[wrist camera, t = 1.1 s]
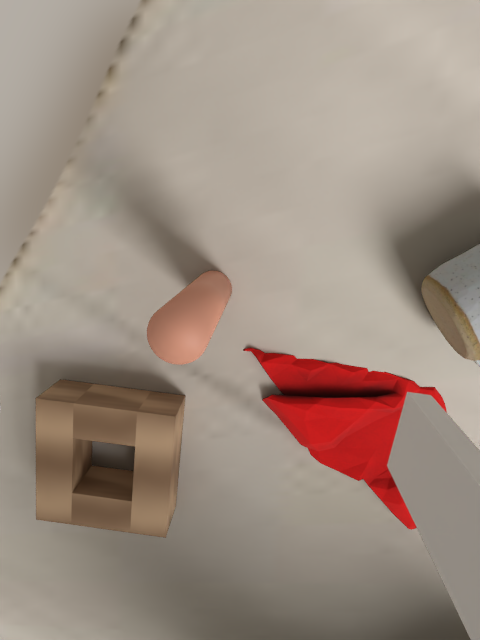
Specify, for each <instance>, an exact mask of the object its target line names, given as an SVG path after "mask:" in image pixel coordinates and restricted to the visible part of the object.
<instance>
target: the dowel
mask: <svg viewBox="0 0 480 640" xmlns="http://www.w3.org/2000/svg"><path fill="white" fill-rule="evenodd" d="M231 292H232V286H231V283H230V281H229V279H228V278H227V276H226V275H224V274H223V273H221V272H219V271H207V272H205V273H203V274H201V275H200V276H199V277H198V278H197V279H195V280H194V281H193V282H192V283H191V284H189V285H188V286H187V287H186V288H184V289H183V290H182V291H181V292H180V293H178V294H177V295H176V296H175V297H174V298H172V299H171V300H170V301H169V302H167V303H166V304H165V305H164V306H163V307H161V308H160V309H159V310H158V311H157V312H156V313H154V315H153V316H152V317H151V319H150V321H149V324H148V327H147V338H148V342H149V345H150V347H151V349H152V350H153V352H154V353H155V354H156V355H157V356H158V357H159V358H161V359H162V360H164V361H166V362H168V363H172V364H187V363H190V362H193V361H195V360H196V359H198V358H199V357H200V356H201V355H202V354H203V352H204V351H205V349H206V347H207V345H208V343H209V341H210V339H211V336H212V334H213V332H214V330H215V328H216V326H217V324H218V322H219V319H220V317H221V315H222V313H223V311H224V309H225V307H226V305H227V302H228V300H229V298H230V296H231Z"/></svg>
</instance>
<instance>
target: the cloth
mask: <svg viewBox="0 0 480 640" xmlns="http://www.w3.org/2000/svg"><path fill="white" fill-rule="evenodd" d="M243 351H252V353H253V354H254V355H255V356H256V358H257V359H258V361H259V362H260V364H261V365H262V367H263V368H264V370H265V371H266V372H267V374H268V375H269V377H270V378H271V380H272V381H273V382H274V383H275V385H276V386H277V387H278V389H279V390H280V391H281V392H282V394H283V395H271V396H269V397H267V398H264V399H263V401H264V402H265V403H266V405H267V406H268V407H269V408H270V409H271V410H272V411H273V412H274V413H275V414H276V415H277V416H278V417H279V419H280V420H281V421H282V422H283V423H284V425H285V426H286V427H287V428H288V429H289V431H290V432H291V433H292V434H293V436H294V437H295V438H296V439H297V440H298V442H299V443H300V444H301V445H303V446H305V447H307V448H308V449H309V452H310V454H311V455H312V456H313V457H314V458H315V459H316V460H318V461H319V462H320V463H321V464H324V465H326V466H328V467H330V468H333V469H335V470H337V471H339V472H341V473H343V474H345V475H347V476H350V477H352V478H354V479H356V480H358V481H359V480H362V479H364V480H365V482H366V483H367V484H368V486H369V487H370V488H371V489H372V490H373V491H374V492H375V494H376V495H377V496H378V497H379V498H380V499H381V500H382V502H383V503H384V504H385V505H386V506H387V507H388V508H389V510H390V511H391V512H392V513H393V514H394V515H395V516H396V517H397V518H398V519H399V520H400V521H401V522H402V523H403V524H404V525H405V526H406V527H407V528H408V529H415V528H417V527H416V525H415V523H414V521H413V519H412V517H411V515H410V513H409V510H408V508H407V506H406V504H405V502H404V500H403V498H402V496H401V494H400V492H399V490H398V488H397V486H396V483H395V481H394V479H393V477H392V475H391V473H390V471H389V469H388V467H387V464H388V460H389V456H390V453H391V449H392V445H393V442H394V438H395V434H396V431H397V427H398V423H399V420H400V416H401V412H402V409H403V405H404V401H405V398H406V394H407V392H412V393H419V394H427V395H431V396H432V397H433V398H434V399H435V400H436V401H437V402H438V404H439V405H440V406H441V407H442V408H443V409H444V410H445V412H446V407H445V403H444V401H443V398H442V397H441V395H440V394H439V393H438V391H437V390H436V389H435V387H419V386H418V385H417V384H416V383H415V382H414V381H411V380H408V379H405V378H402V377H399V376H396V375H393V374H390V373H387V372H384V373H383V372H378V371H371V372H368V369H367V368H362V367H355V366H349V365H343V364H339V363H325V362H322V361H318V360H314V359H297V358H296V357H295V356H293V355H285V354H276V353H264V352H262V351H261V350H257V349H253V348H247V349H244V350H243ZM446 413H447V412H446Z"/></svg>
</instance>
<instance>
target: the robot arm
mask: <svg viewBox="0 0 480 640" xmlns="http://www.w3.org/2000/svg"><path fill="white" fill-rule="evenodd" d="M0 411H1V408H0ZM387 467H388V469H389V471H390V473H391V475H392V477H393V479H394V481H395V483H396V486H397V488H398V490H399V492H400V494H401V496H402V498H403V500H404V502H405V504H406V506H407V508H408V510H409V513H410V515H411V517H412V519H413V521H414V523H415V525H416V527H417V529H418V531H419V533H420V535H421V537H422V540H423V542H424V544H425V546H426V548H427V550H428V552H429V554H430V556H431V558H432V560H433V562H434V565H435V567H436V569H437V571H438V573H439V575H440V577H441V579H442V581H443V583H444V585H445V587H446V589H447V592H448V594H449V596H450V598H451V600H452V602H453V604H454V606H455V608H456V610H457V612H458V614H459V616H460V619H461V621H462V623H463V625H464V627H465V629H466V631H467V633H468V635H469V637H470V639H471V640H480V450H479V449H478V448H477V447H476V446H475V445H474V443H473V442H472V441H471V440H470V439H469V438H468V437H467V435H466V434H465V433H464V432H463V431H462V430H461V429H460V428H459V426H458V425H457V424H456V423H455V422H454V421H453V420H452V418H451V417H450V416H449V415H448V414H447V413H446V412H445V410H444V409H443V408H442V407H441V406H440V405H439V404H438V402H437V401H436V400H435V399H434V398H433V397H432V396H431V395H427V394H419V393H412V392H407V394H406V398H405V401H404V405H403V409H402V412H401V416H400V420H399V423H398V427H397V431H396V434H395V438H394V442H393V445H392V449H391V453H390V456H389V460H388V464H387Z"/></svg>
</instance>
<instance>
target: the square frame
mask: <svg viewBox="0 0 480 640" xmlns="http://www.w3.org/2000/svg"><path fill="white" fill-rule="evenodd" d="M184 406H185V395H177V394H169V393H161V392H154V391H146V390H138V389H130V388H123V387H115V386H107V385H99V384H92V383H84V382H76V381H68V380H61V379H60V380H59V381H58V382H56V383H55V384H54V385H52V386H51V387H50V388H49V389H47V390H46V391H45V392H43V393H42V394H41V395H39V396H38V397H37V398H36V519H37V520H44V521H51V522H58V523H65V524H72V525H79V526H87V527H94V528H101V529H108V530H115V531H122V532H129V533H136V534H144V535H151V536H158V537H165V538H166V535H167V532H168V529H169V526H170V522H171V519H172V516H173V513H174V510H175V507H176V497H177V486H178V475H179V463H180V452H181V440H182V429H183V417H184ZM92 441H97V442H105V443H112V444H120V445H127V446H135V458H134V471H129V470H122V469H114V468H107V467H100V466H92Z"/></svg>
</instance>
